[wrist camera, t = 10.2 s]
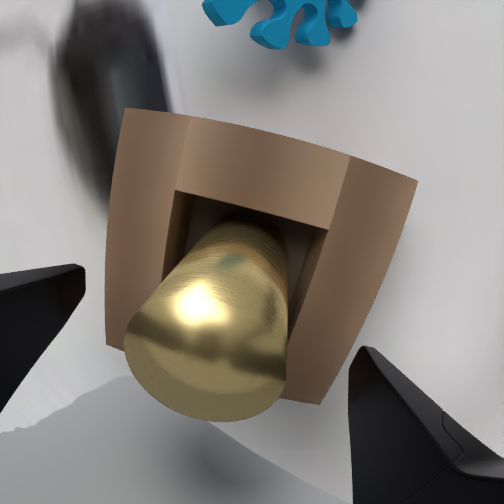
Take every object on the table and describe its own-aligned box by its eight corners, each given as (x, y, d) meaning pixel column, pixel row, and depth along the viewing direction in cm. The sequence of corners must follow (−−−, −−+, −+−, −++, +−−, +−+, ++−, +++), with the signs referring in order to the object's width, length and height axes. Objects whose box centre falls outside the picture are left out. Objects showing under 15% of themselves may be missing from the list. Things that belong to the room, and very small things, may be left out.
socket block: (384, 171, 13) (418, 181, 9) (315, 356, 17) (319, 404, 13) (164, 116, 13) (125, 107, 10) (137, 307, 17) (106, 344, 13)
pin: (298, 226, 13) (311, 325, 6) (274, 302, 15) (260, 434, 7) (212, 203, 13) (125, 272, 6) (196, 280, 15) (125, 394, 7)
